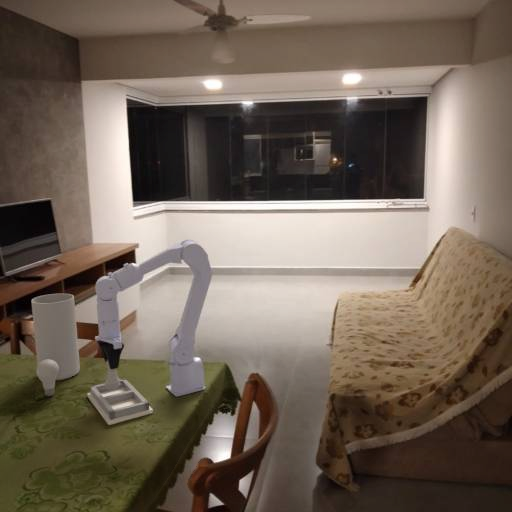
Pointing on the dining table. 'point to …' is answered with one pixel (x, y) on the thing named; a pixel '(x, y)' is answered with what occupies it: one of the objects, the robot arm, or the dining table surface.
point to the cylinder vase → (56, 332)
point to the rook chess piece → (111, 378)
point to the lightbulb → (48, 375)
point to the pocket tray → (119, 402)
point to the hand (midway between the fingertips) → (112, 366)
